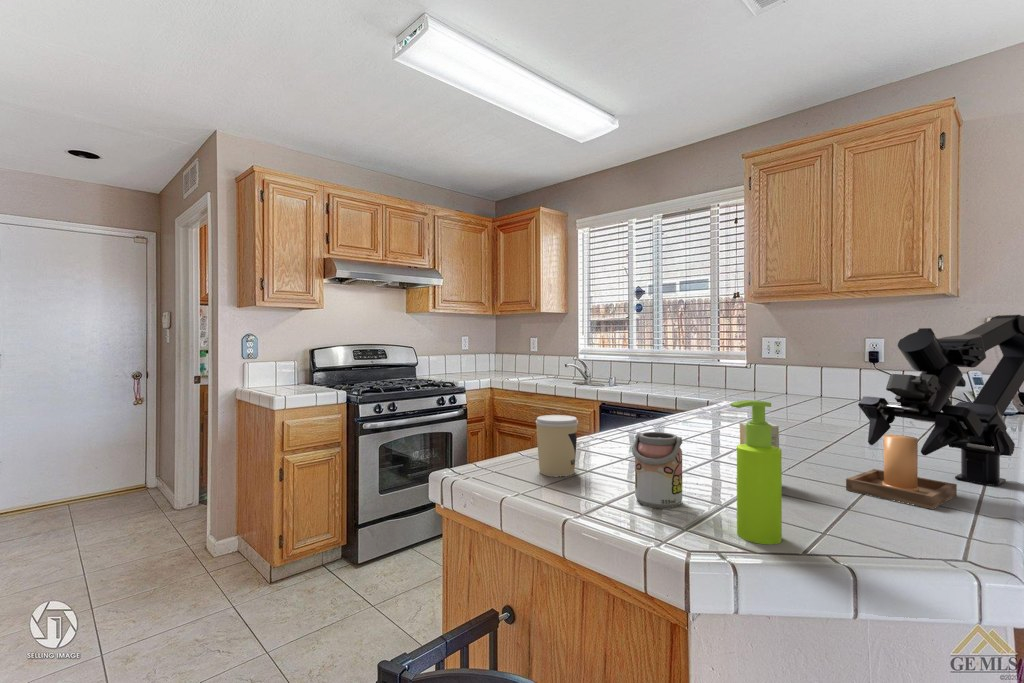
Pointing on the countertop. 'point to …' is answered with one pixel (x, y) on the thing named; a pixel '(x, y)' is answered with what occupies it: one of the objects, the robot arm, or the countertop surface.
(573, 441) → the coffee cup
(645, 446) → the printed pail with handle
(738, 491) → the soap dispenser
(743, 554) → the countertop surface
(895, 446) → the peach dome-topped cylinder
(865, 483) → the walnut tray
